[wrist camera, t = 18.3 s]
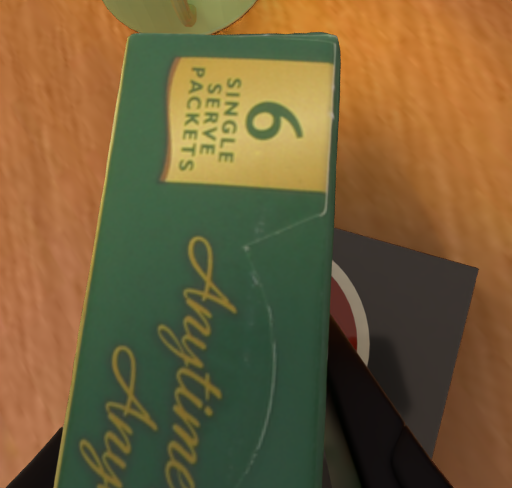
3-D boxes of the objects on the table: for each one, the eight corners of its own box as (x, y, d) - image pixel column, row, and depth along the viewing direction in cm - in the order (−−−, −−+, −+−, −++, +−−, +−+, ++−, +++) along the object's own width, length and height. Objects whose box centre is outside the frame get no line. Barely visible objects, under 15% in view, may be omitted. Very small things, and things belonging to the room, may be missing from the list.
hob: (398, 643, 18) (419, 705, 15) (92, 530, 19) (62, 570, 16) (487, 280, 19) (520, 279, 17) (197, 197, 20) (185, 184, 18)
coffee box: (237, 227, 18) (107, -1, 5) (304, 232, 17) (365, 9, 4) (217, 422, 16) (-36, 863, 3) (288, 431, 16) (311, 938, 3)
